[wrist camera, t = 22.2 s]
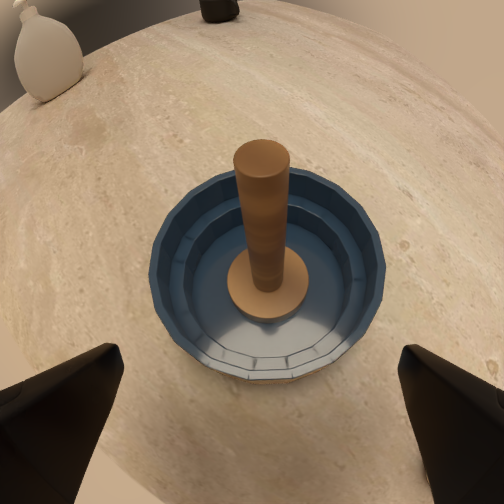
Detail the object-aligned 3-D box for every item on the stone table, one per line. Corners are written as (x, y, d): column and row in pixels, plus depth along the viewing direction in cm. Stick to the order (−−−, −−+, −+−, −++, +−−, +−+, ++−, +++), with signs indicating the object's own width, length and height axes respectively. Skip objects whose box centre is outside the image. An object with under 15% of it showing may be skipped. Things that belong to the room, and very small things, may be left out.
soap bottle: (86, 68, 51) (52, -22, 27) (93, 75, 48) (55, -26, 24) (34, 102, 47) (-8, 15, 23) (36, 113, 44) (-13, 16, 20)
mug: (196, 22, 57) (192, -1, 51) (224, 13, 60) (221, -9, 53) (224, 28, 53) (221, 2, 46) (254, 19, 55) (252, -6, 49)
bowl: (295, 422, 19) (303, 431, 13) (141, 309, 24) (107, 282, 18) (388, 263, 24) (414, 226, 19) (246, 186, 29) (240, 140, 24)
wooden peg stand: (279, 338, 21) (286, 251, 9) (214, 295, 23) (154, 177, 11) (321, 275, 23) (361, 145, 11) (258, 239, 25) (244, 100, 13)
